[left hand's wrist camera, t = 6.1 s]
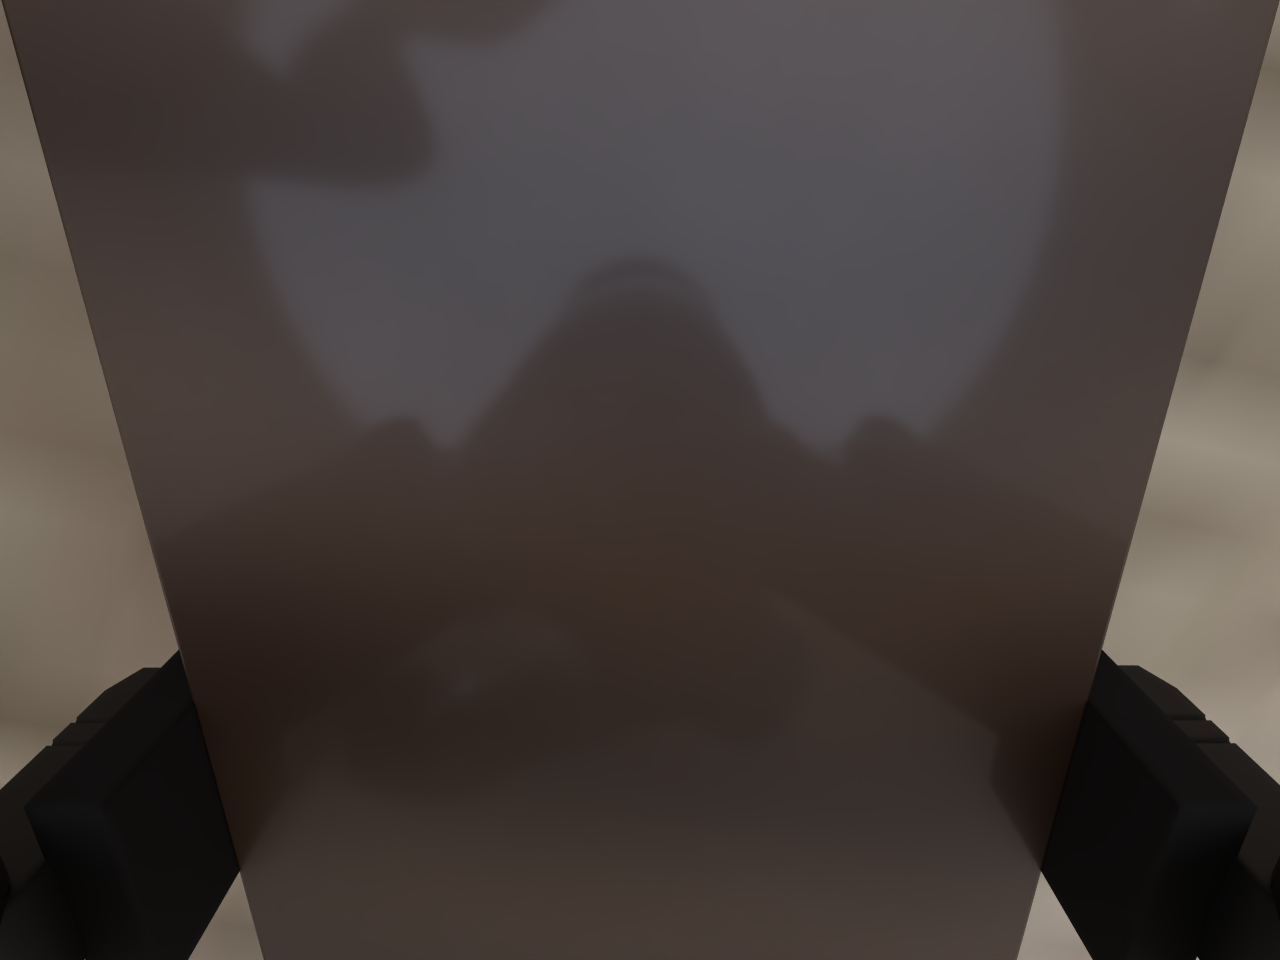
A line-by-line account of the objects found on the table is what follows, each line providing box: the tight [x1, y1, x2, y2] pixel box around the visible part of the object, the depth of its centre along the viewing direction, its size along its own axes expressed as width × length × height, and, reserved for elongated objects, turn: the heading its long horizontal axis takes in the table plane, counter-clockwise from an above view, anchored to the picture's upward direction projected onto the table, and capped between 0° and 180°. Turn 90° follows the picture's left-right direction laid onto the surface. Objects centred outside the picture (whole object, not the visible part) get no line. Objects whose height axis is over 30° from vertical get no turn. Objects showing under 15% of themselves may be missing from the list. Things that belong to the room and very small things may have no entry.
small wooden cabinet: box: [2, 0, 1279, 960], centre depth 12 cm, size 20×10×12 cm, turn 0°
